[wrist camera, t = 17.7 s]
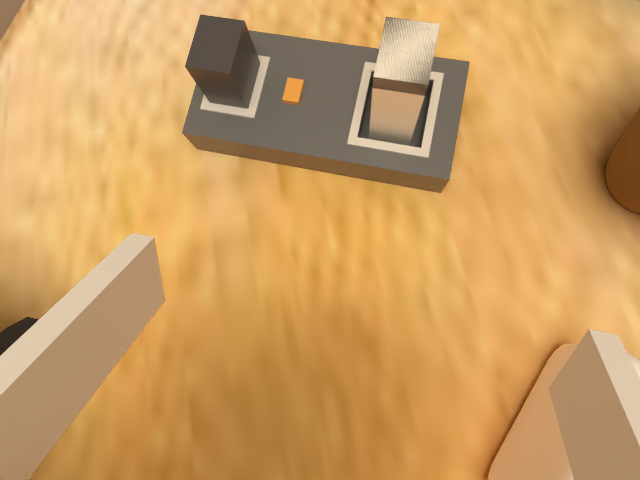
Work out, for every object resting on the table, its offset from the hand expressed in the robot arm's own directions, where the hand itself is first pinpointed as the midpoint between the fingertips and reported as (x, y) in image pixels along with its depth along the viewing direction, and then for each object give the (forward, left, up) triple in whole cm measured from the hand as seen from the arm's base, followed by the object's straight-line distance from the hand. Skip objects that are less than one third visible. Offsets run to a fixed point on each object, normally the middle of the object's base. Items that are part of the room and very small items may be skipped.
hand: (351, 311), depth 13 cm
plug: (0, +20, -27) cm, 33 cm away
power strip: (-7, +20, -28) cm, 35 cm away
